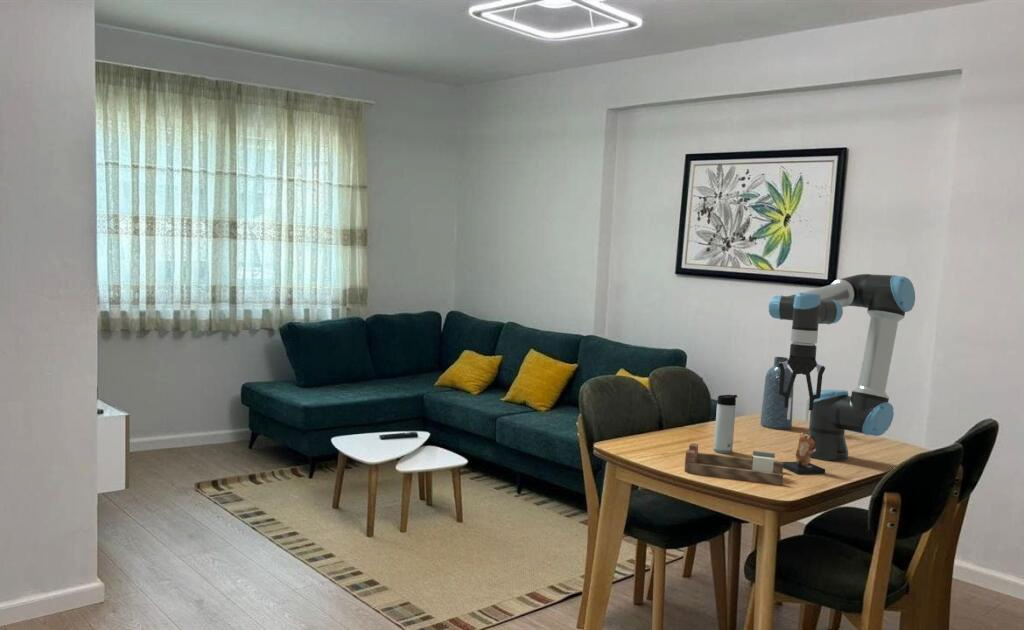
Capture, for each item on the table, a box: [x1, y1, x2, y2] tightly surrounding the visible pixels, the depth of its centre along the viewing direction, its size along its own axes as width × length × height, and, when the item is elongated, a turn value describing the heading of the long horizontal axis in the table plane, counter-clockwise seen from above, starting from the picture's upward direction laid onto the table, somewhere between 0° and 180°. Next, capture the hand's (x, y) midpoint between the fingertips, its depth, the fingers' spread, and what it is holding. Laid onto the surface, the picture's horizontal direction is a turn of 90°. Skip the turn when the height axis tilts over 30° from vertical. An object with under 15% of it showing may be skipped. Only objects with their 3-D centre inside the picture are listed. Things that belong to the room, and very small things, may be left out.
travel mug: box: [713, 394, 738, 455], centre depth 292 cm, size 6×7×20 cm
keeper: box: [751, 450, 776, 473], centre depth 262 cm, size 6×6×7 cm
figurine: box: [780, 432, 826, 475], centre depth 272 cm, size 10×10×12 cm
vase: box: [759, 356, 795, 430], centre depth 342 cm, size 12×12×28 cm
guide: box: [684, 443, 784, 486], centre depth 264 cm, size 29×17×6 cm, turn 72°
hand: (797, 419), depth 258 cm, fingers open, 4 cm apart
